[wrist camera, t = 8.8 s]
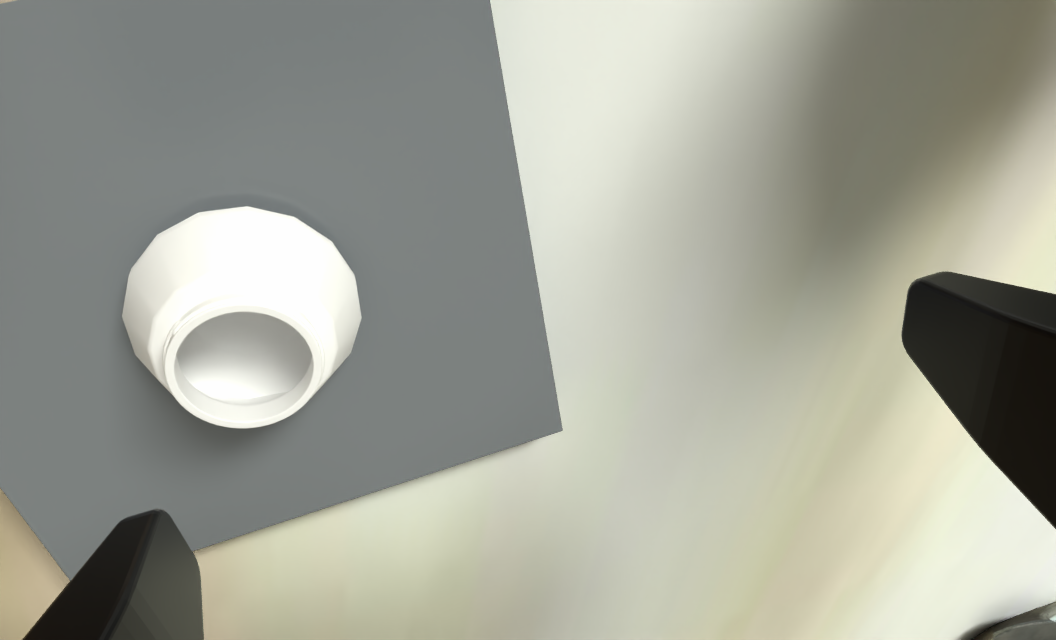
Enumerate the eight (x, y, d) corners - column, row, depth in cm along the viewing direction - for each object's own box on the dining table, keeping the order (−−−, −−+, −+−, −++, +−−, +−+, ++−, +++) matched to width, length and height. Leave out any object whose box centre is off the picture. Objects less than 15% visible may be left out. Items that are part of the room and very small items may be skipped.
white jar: (397, 278, 19) (212, 156, 16) (417, 339, 16) (203, 207, 14) (277, 419, 20) (83, 326, 17) (279, 496, 17) (54, 402, 15)
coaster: (460, -94, 16) (474, -92, 15) (550, 407, 24) (562, 430, 23) (-275, 52, 14) (-316, 67, 13) (85, 555, 21) (76, 589, 20)
